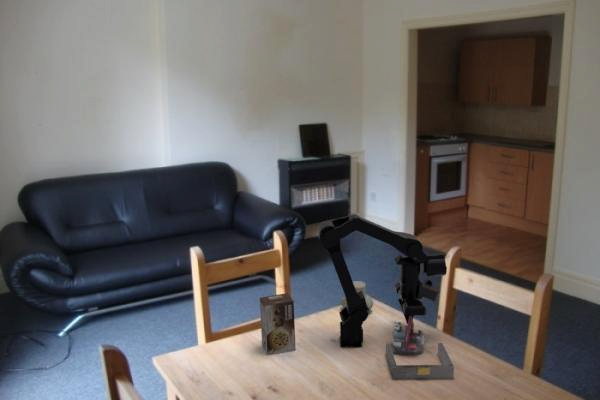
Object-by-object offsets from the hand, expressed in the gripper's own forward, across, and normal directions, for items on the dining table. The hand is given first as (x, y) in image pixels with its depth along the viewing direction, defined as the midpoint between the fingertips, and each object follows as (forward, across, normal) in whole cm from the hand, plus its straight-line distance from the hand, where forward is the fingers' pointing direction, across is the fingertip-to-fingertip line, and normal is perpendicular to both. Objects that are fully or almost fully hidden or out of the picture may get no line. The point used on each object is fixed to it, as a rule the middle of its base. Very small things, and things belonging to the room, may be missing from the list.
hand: (409, 324), depth 173 cm
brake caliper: (+5, -6, +1) cm, 8 cm away
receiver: (+5, -16, 0) cm, 16 cm away
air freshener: (+6, +22, +14) cm, 26 cm away
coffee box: (+5, -4, +40) cm, 41 cm away
